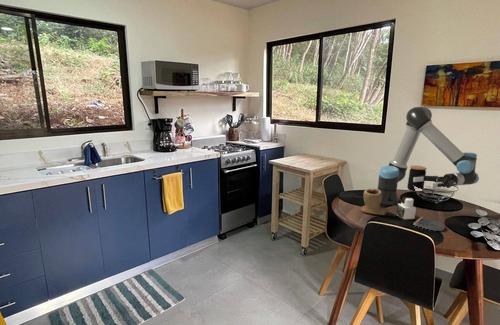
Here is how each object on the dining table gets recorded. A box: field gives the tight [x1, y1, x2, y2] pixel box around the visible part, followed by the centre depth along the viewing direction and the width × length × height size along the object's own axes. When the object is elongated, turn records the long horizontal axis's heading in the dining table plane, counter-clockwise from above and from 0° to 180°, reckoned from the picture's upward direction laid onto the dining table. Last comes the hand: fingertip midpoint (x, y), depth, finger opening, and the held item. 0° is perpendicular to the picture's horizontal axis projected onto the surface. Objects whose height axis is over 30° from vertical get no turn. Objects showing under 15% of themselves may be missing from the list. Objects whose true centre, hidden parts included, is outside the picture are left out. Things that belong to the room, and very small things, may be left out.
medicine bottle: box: [395, 196, 417, 220], centre depth 169 cm, size 7×7×12 cm
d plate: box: [413, 216, 446, 232], centre depth 158 cm, size 13×13×2 cm
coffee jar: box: [406, 165, 428, 192], centre depth 218 cm, size 11×11×18 cm
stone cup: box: [360, 188, 389, 216], centre depth 174 cm, size 15×12×15 cm
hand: (422, 182), depth 169 cm, fingers open, 13 cm apart
